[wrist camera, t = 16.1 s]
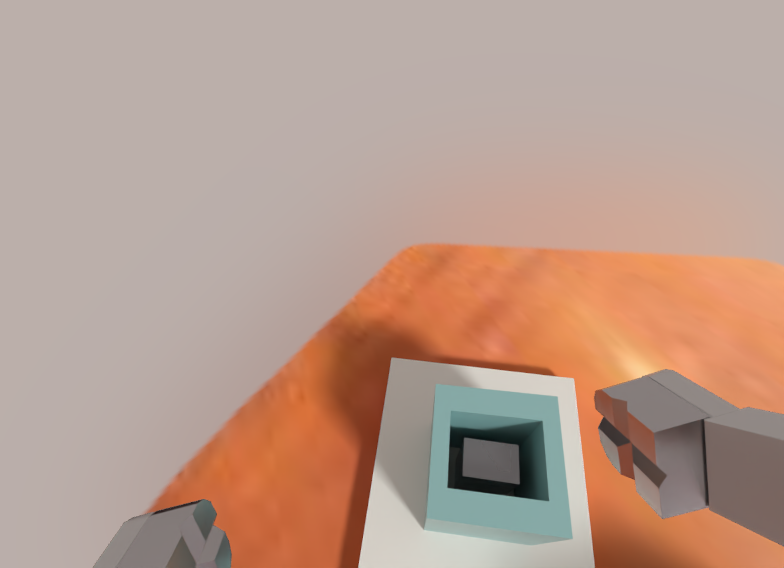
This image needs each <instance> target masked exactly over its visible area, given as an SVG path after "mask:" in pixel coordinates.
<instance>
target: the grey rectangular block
mask: <svg viewBox="0 0 784 568" xmlns="http://www.w3.org/2000/svg"><path fill="white" fill-rule="evenodd" d="M518 485H520V476H519V445H514V444H507V443H500V442H492V441H485V440H478V439H471V438H464V440H463V442H462V445H461V447H460V450H459V453H458V455H457V458H456V464H455V483H454V489H458V490H466V491H474V492H481V493H489V494H496V495H504V496H505V495H507V494H508V493H509V492H510V491H512V490H513V489H514V488H516V487H517V486H518Z"/></svg>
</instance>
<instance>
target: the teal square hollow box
mask: <svg viewBox="0 0 784 568" xmlns="http://www.w3.org/2000/svg"><path fill="white" fill-rule="evenodd" d="M464 438H471V439H478V440H485V441H492V442H500V443H507V444H514V445H519V476H520V485H518V486H517V487H516V488H514V496H515V497H512V496H504V495H496V494H489V493H481V492H474V491H466V490H458V489H451V488H447V484H448V462H449V447H455V448H460V447H461V445H462V442H463V440H464ZM424 530H427V531H434V532H441V533H448V534H455V535H461V536H468V537H475V538H482V539H489V540H496V541H503V542H510V543H517V544H524V545H531V546H532V545H538V544H544V543H551V542H557V541H563V540H569V539H573V536H572V527H571V517H570V508H569V498H568V489H567V480H566V470H565V461H564V451H563V442H562V433H561V423H560V414H559V404H558V396H548V395H539V394H529V393H519V392H510V391H500V390H490V389H481V388H471V387H461V386H452V385H442V384H436V386H435V396H434V405H433V414H432V423H431V437H430V451H429V465H428V480H427V494H426V508H425V522H424Z"/></svg>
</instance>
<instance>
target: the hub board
mask: <svg viewBox="0 0 784 568" xmlns="http://www.w3.org/2000/svg"><path fill="white" fill-rule="evenodd" d="M436 384H442V385H452V386H461V387H471V388H481V389H490V390H500V391H510V392H519V393H529V394H539V395H548V396H558V404H559V414H560V423H561V433H562V442H563V451H564V461H565V470H566V480H567V489H568V498H569V508H570V517H571V527H572V536H573V539H569V540H563V541H557V542H551V543H544V544H538V545H532V546H531V545H524V544H517V543H510V542H503V541H496V540H489V539H482V538H475V537H468V536H461V535H455V534H448V533H441V532H434V531H427V530H424V522H425V508H426V494H427V480H428V465H429V451H430V437H431V423H432V414H433V405H434V396H435V386H436ZM459 450H460V448H455V447H449V462H448V484H447V488H451V489H454V483H455V464H456V458H457V455H458V453H459ZM505 496H512V497H515V496H514V489H513V490H512V491H510V492H509V493H508V494H507V495H505ZM358 568H595V563H594V554H593V545H592V536H591V528H590V519H589V510H588V501H587V492H586V483H585V474H584V465H583V456H582V447H581V438H580V429H579V420H578V411H577V402H576V393H575V384H574V379H573V378H565V377H556V376H547V375H539V374H530V373H522V372H513V371H504V370H496V369H487V368H478V367H470V366H461V365H452V364H444V363H435V362H426V361H418V360H409V359H401V358H391V365H390V371H389V377H388V383H387V390H386V396H385V402H384V409H383V415H382V421H381V427H380V434H379V440H378V446H377V453H376V459H375V465H374V471H373V478H372V484H371V490H370V497H369V503H368V509H367V515H366V522H365V528H364V534H363V541H362V547H361V553H360V559H359V566H358Z"/></svg>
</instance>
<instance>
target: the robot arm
mask: <svg viewBox="0 0 784 568" xmlns="http://www.w3.org/2000/svg"><path fill="white" fill-rule="evenodd" d="M594 400H595V408H596V410H597V411H598V412H600V413H601V414H602V415H603V416H604V417H603V419H602V421H601V423H600V425H599V427H598V430H599V435H600V441H601V444H602V446H603V448H604V451H605V453H606V455H607V457H608V458H609V460H610V461H611V463H612V465H613V466H614V467H615V468H616V469H617V470H618V471H619V473H620V474H621V475H624V476H626V477H629V478H631V479H634V480H635V484H636V491H637V492H638V493H639V495H640V496H641V497H642V498H643V499H644V500H645V501H646V502H647V503H648V504H649V505H650V506H651V508H652V509H653V510H654V511H655V512H656V513H657V514H658V515H659V516H660V517H661V518H662V519H665V518H669V517H673V516H676V515H680V514H684V513H688V512H692V511H696V510H700V509H704V508H708V507H709V510H711V511H713V512H715V513H717V514H719V515H721V516H723V517H725V518H727V519H729V520H731V521H733V522H735V523H737V524H739V525H741V526H743V527H745V528H747V529H749V530H751V531H753V532H755V533H757V534H759V535H761V536H764V537H766V538H768V539H770V540H772V541H774V542H776V543H778V544H780V545H782V546H784V414H779V413H774V412H770V411H765V410H760V409H755V408H750V407H747V408H743V409H739V408H737V407H735V406H734V405H732V404H730V403H729V402H727V401H725V400H723V399H722V398H720V397H718V396H716V395H715V394H713V393H711V392H710V391H708V390H706V389H704V388H703V387H701V386H699V385H698V384H696V383H694V382H692V381H691V380H689V379H687V378H686V377H684V376H682V375H680V374H679V373H677V372H675V371H673V370H668V369H665V370H661V371H658V372H655V373H652V374H649V375H645V376H642V377H641V378H638V379H634V380H631V381H628V382H624V383H621V384H617V385H614V386H610V387H607V388H603V389H600V390H596V391H595V396H594ZM216 516H217V513H216V511H215V510H214V508H213V506H212V504H211V502H210V501H208V500H205V499H202V500H198V501H194V502H190V503H186V504H182V505H178V506H174V507H170V508H166V509H162V510H159V511H156V512H151V513H147V514H144V515H140V516H137V517H133V518H131V519H129V520H128V521H126V522H124V523H123V525H122V526H121V528H120V529H119V531H118V532H117V534H116V535H115V536H114V538H113V539H112V541H111V542H110V544H109V545H108V546H107V548H106V549H105V551H104V552H103V554H102V555H101V556H100V558H99V559H98V561H97V562H96V564H95V565H94V566H93V568H231V549H230V544H229V540H228V538H227V536H226V533H225V532H224V531H223V530H221V529H219V528H218V527H216V526H214V522H215V519H216Z"/></svg>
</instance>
